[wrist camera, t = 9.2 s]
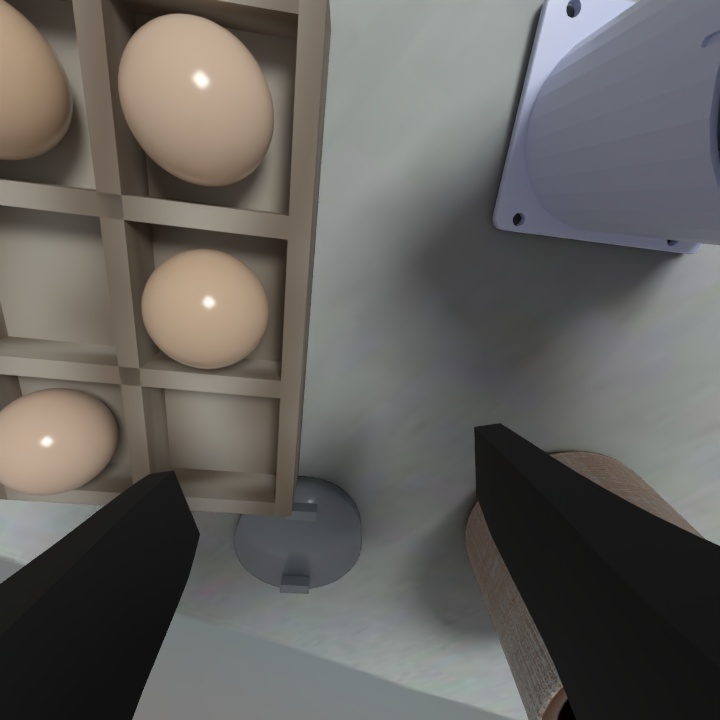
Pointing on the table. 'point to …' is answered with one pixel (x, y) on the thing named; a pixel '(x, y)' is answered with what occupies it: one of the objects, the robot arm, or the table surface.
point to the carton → (156, 244)
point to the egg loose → (205, 308)
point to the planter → (506, 605)
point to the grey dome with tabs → (302, 539)
